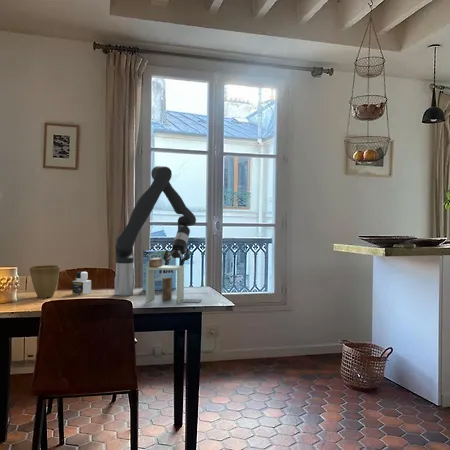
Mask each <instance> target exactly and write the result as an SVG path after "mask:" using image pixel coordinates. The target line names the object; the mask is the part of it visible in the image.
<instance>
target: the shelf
mask: <svg viewBox="0 0 450 450" xmlns="http://www.w3.org/2000/svg"><path fill="white" fill-rule="evenodd" d="M155 270H176V303H177V304H180V303H181V302H183V301H184V300H185V298H184V297H185V284H184V283H185V265H183V266H180V265H176V266H168V265H162V266H160V267H157V268H149V267H146V291H145V303H149V302H151V301H153V300H154V299H155V294H156V293H155V291H156V290H155Z"/></svg>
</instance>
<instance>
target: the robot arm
mask: <svg viewBox="0 0 450 450" xmlns="http://www.w3.org/2000/svg"><path fill="white" fill-rule="evenodd" d="M172 172H173V171H172V170H171V168H170V167H168V166H167V165H166V166H164V165H157V166H154V167H153V168H152V170H151V178H152V179H153V181H152V183H151V184H150V186H149V188H148V189H147V190H146V191H145V192H144V193H143V194H142V195H141V196H140V197H139V198H138V200H137V201H136V203H135V205H134V207H133V209H132V211H131V214H130V218H129V220H128V223H127V224H126V226H125V228H124V229H123V231H122V232H121V233H120V234H118V235H117V236H116V238H115V277H114V293H113V294H114V296H120V297H121V296H123V297H124V296H125V297H126V296H132V295H134V254H133V253H134V250H133V249H134V245H135V242H136V240H137V237H138V235H139V233H140V231H141V229H142V228H143V226H144V224H145V223H146V221H147V220H148V218H149V217H150V215H151V213H152V212H153V209H154V207H155V205H156V203H157V202H158V200H159V198H160V197H161V194H162V192H163V193H164V195H165V197H166V199H167V200H168V202H169V204H170V205H171V207H172V209H173V211H174V213H175V214H177V215H179V217H178V219H177V232H176V235H175V237H174V240H173V243H172V246H171V249H170V250H171V251H168V250H169V249H165V250H166V252H165V254H164V257H163V259H164V260H165V265H169V261H170V260H172V259H174V258H176V259H180V258H181V259H180V263H179V266H185V265H184V264H185V262H186V261H189V260H190V254H191V251H190V249H189V248H187V245H188V241H189V237H190V233H191V229H190V227H191V226H194V225H195V224H196V223H197V219H196V215H195V214H194V213H193V212H192V211H191V209H189V208H188V206H186V203H185V202H184V201H183V198H182V197H181V195H179V193H178V192H177V191H176V189H175V188H174V187H173V186H172V184H171V182H170V181H171V179H172V176H173V175H172ZM180 215H181V216H180ZM171 255H172V257H171Z"/></svg>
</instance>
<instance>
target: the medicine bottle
mask: <svg viewBox="0 0 450 450" xmlns="http://www.w3.org/2000/svg"><path fill="white" fill-rule="evenodd" d="M88 274H89V273H88V272H87V271H77V272H76V273H75V280H72V287H71V288H72V295H78V294H80V296H83V295H89V294H91V293H92V280H91V279H88V278H89V277H88V276H89V275H88Z"/></svg>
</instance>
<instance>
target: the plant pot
mask: <svg viewBox="0 0 450 450" xmlns="http://www.w3.org/2000/svg"><path fill="white" fill-rule="evenodd" d="M60 271H61V265H58V264H57V265H55V264H53V265H52V264H50V265H48V264H47V265H46V264H45V265H34V266H33V265H32V266H29V273H30V277H31V278H30V279H31V282H32V286H33V289H34V292H35V294H36V297H37V298H38V297H40V298H39V299H48V298H47V297H50V298H53V297H54V294H55V291H56V289H57V285H58V281H59V277H60Z"/></svg>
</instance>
